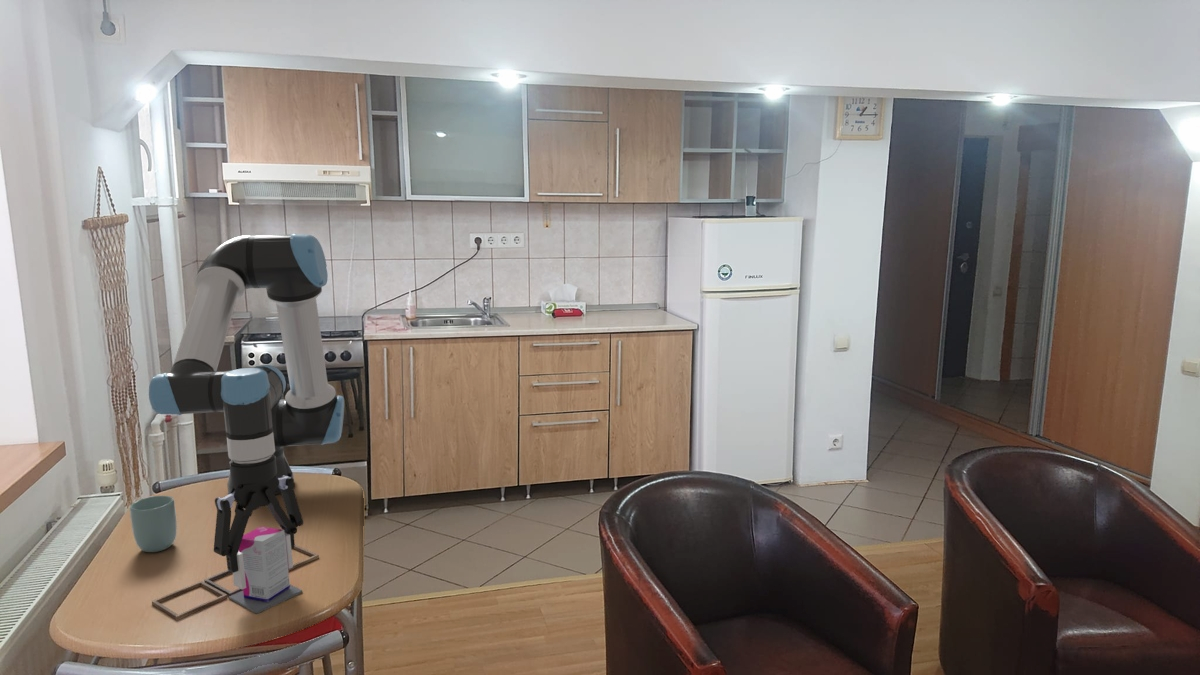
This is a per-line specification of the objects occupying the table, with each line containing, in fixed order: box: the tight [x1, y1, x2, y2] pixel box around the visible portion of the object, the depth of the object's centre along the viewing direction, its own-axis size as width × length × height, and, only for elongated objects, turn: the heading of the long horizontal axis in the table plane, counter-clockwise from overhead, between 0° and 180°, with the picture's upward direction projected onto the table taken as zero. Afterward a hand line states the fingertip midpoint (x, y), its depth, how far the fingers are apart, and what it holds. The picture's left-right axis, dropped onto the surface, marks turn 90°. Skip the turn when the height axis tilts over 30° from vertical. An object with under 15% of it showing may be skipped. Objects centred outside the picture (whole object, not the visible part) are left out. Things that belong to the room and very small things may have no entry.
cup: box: [129, 495, 178, 553], centre depth 161 cm, size 8×8×10 cm
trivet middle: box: [203, 569, 243, 597], centre depth 149 cm, size 9×9×1 cm
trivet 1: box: [151, 580, 229, 621], centre depth 141 cm, size 9×9×1 cm
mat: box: [228, 583, 303, 614], centre depth 143 cm, size 9×9×1 cm
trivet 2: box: [288, 544, 320, 572], centre depth 156 cm, size 9×9×1 cm
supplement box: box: [239, 526, 291, 602], centre depth 142 cm, size 6×6×12 cm
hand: (264, 575), depth 142 cm, fingers open, 8 cm apart
